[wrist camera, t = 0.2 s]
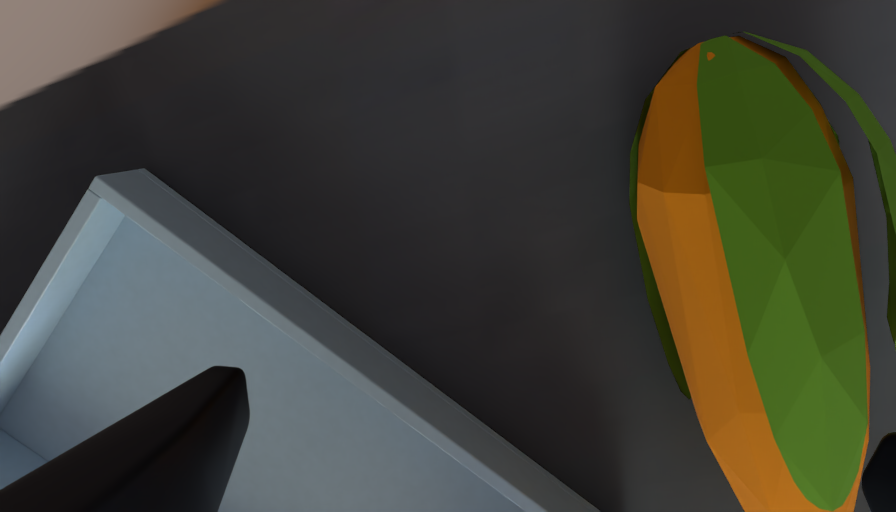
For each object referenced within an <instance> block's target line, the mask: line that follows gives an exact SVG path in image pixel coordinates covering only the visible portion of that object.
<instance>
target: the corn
mask: <svg viewBox="0 0 896 512" xmlns="http://www.w3.org/2000/svg"><path fill="white" fill-rule="evenodd" d="M738 33H739V32H738ZM745 33H747V32H745ZM732 34H733V33H732ZM747 34H749V35H752V36H754V37H756V38H759V39H761V40H763V41H766V42H768V43H770V44H773V45H775V46H777V47H780V48H782V49H784V50H787V51H789V52H791V53H794V54H796V55H798V56H800V57H801V58H802V59H803V60H804V61H805V62H806V63H807V64H808V65H809V66H810V67H811V68H812V69H813V70H814V71H815V72H816V73H817V74H818V75H819V76H820V77H821V78H822V79H823V80H824V81H825V82H826V83H827V84H828V85H829V86H830V87H831V88H832V89H833V90H834V91H835V92H836V93H837V94H838V95H839V96H840V97H841V98H842V99H843V100H844V101H845V102H846V103H847V105H848V106H849V108H850V110H851V111H852V113H853V115H854V116H855V118H856V120H857V121H858V123H859V125H860V126H861V128H862V129H863V131H864V133H865V134H866V136H867V138H868V140H869V144H870V149H871V153H872V157H873V162H874V166H875V170H876V174H877V179H878V183H879V187H880V191H881V196H882V200H883V204H884V209H885V213H886V217H887V238H888V262H889V295H888V309H887V319H888V323H889V327H890V331H891V335H892V338H893V341H894V343H895V350H896V154H895V152H894V149H893V146H892V143H891V140H890V139H889V137H888V136H887V134H886V133H885V131H884V130H883V128H882V127H881V126H880V124H879V123H878V121H877V120H876V118H875V117H874V115H873V114H872V112H871V111H870V110H869V108H868V107H867V105H866V104H865V102H864V101H863V99H862V98H861V96H860V95H859V94H858V93H857V92H856V91H855V90H853V89H852V88H851V87H850V86H849V85H848V84H846V83H845V82H844V81H843V80H842V79H840V78H839V77H838V76H837V75H836V74H834V73H833V72H832V71H831V70H830V69H829V68H827V67H826V66H825V65H824V64H823V63H821V62H820V61H819V60H818V59H817V58H815V57H814V56H813V55H812V54H811V53H810V52H808V51H807V50H804V49H801V48H798V47H794V46H791V45H787V44H784V43H781V42H777V41H774V40H771V39H767V38H764V37H761V36H757V35H754V34H750V33H747ZM629 205H630V210H631V215H632V220H633V225H634V231H635V236H636V241H637V246H638V251H639V257H640V262H641V267H642V272H643V277H644V282H645V288H646V293H647V298H648V302H649V305H650V308H651V311H652V314H653V317H654V320H655V324H656V327H657V330H658V333H659V336H660V339H661V342H662V345H663V349H664V352H665V355H666V358H667V361H668V364H669V366H670V368H671V371H672V373H673V375H674V377H675V379H676V382H677V384H678V386H679V388H680V391H681V392H682V393H683V394H684V395H685V396H686V397H687V398H688V399H690V398H692V401H693V404H694V407H695V410H696V414H697V417H698V420H699V422H700V425H701V428H702V430H703V433H704V435H705V438H706V441H707V443H708V444H709V446H710V448H711V450H712V452H713V454H714V456H715V457H716V459H717V461H718V463H719V465H720V467H721V469H722V470H723V472H724V474H725V476H726V478H727V480H728V481H729V483H730V485H731V487H732V489H733V491H734V493H735V494H736V496H737V498H738V500H739V502H740V504H741V506H742V507H743V509H744V511H745V512H854V507H855V503H856V498H857V493H858V488H859V484H860V479H861V474H862V469H863V465H864V460H865V455H866V451H867V446H868V441H869V402H870V361H869V350H868V339H867V327H866V316H865V305H864V294H863V283H862V272H861V261H860V250H859V239H858V228H857V217H856V206H855V195H854V184H853V177H852V174H851V172H850V170H849V167H848V165H847V163H846V161H845V158H844V156H843V154H842V151H841V149H840V146H839V139H838V135H837V134H836V132H835V131H834V129H833V128H832V126H831V125H830V123H829V121H828V119H827V117H826V115H825V113H824V110H823V108H822V106H821V104H820V103H819V101H818V100H817V99H816V97H815V96H814V95H813V93H812V92H811V90H810V89H809V88H808V86H807V85H806V84H805V82H804V81H803V79H802V78H801V77H800V75H799V74H798V73H797V71H796V70H795V69H794V67H793V66H792V64H791V63H790V62H789V60H788V59H787V58H786V57H785V56H782V55H780V54H778V53H776V52H774V51H771V50H769V49H767V48H765V47H763V46H760V45H758V44H756V43H754V42H752V41H749V40H747V39H745V38H743V37H741V36H735V37H728V36H721V37H717V38H713V39H709V40H707V41H705V42H701V43H698V44H697V45H695V46H693V47H691V48H689V49H686V50H684V51H682V52H680V54H679V55H678V56H677V58H676V59H675V60H674V62H673V63H672V64H671V66H670V67H669V68H668V70H667V71H666V72H665V74H664V75H663V76H662V78H661V79H660V80H659V82H658V83H657V84H656V86H655V87H654V89H653V90H652V91H651V93H650V94H649V95H648V97H647V98H646V99H645V102H644V106H643V109H642V113H641V116H640V120H639V124H638V127H637V131H636V134H635V138H634V141H633V145H632V149H631V152H630V200H629Z"/></svg>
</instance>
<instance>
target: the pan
mask: <svg viewBox="0 0 896 512" xmlns="http://www.w3.org/2000/svg"><path fill="white" fill-rule="evenodd" d="M212 366H228V367H238V368H240V369H242V370H243V371H244V373H245V377H246V384H247V392H248V400H249V408H250V420H249V425H248V429H247V432H246V434H245V437H244V440H243V443H242V446H241V448H240V451H239V454H238V457H237V459H236V462H235V465H234V468H233V471H232V473H231V476H230V479H229V482H228V484H227V487H226V490H225V493H224V496H223V498H222V501H221V504H220V507H219V510H218V512H601V511H600V510H598V509H597V508H596V507H594V506H593V505H592V504H590V503H589V502H588V501H586V500H585V499H584V498H582V497H581V496H580V495H578V494H577V493H576V492H574V491H573V490H572V489H570V488H569V487H568V486H566V485H565V484H564V483H562V482H561V481H560V480H558V479H557V478H556V477H554V476H553V475H552V474H550V473H549V472H548V471H546V470H545V469H544V468H542V467H541V466H540V465H538V464H537V463H536V462H534V461H533V460H532V459H530V458H529V457H528V456H526V455H525V454H524V453H522V452H521V451H520V450H518V449H517V448H516V447H514V446H513V445H512V444H510V443H509V442H508V441H506V440H505V439H504V438H502V437H501V436H500V435H499V434H497V433H496V432H495V431H493V430H492V429H491V428H489V427H488V426H487V425H485V424H484V423H483V422H481V421H480V420H479V419H477V418H476V417H475V416H473V415H472V414H471V413H469V412H468V411H467V410H465V409H464V408H463V407H461V406H460V405H459V404H457V403H456V402H455V401H453V400H452V399H451V398H449V397H448V396H447V395H445V394H444V393H443V392H441V391H440V390H439V389H437V388H436V387H435V386H433V385H432V384H431V383H429V382H428V381H427V380H425V379H424V378H423V377H421V376H420V375H419V374H417V373H416V372H415V371H413V370H412V369H411V368H409V367H408V366H407V365H405V364H404V363H403V362H401V361H400V360H399V359H397V358H396V357H395V356H393V355H392V354H391V353H389V352H388V351H387V350H386V349H384V348H383V347H382V346H380V345H379V344H378V343H376V342H375V341H374V340H372V339H371V338H370V337H368V336H367V335H366V334H364V333H363V332H362V331H360V330H359V329H358V328H356V327H355V326H354V325H352V324H351V323H350V322H348V321H347V320H346V319H344V318H343V317H342V316H340V315H339V314H338V313H336V312H335V311H334V310H332V309H331V308H330V307H328V306H327V305H326V304H324V303H323V302H322V301H320V300H319V299H318V298H316V297H315V296H314V295H312V294H311V293H310V292H308V291H307V290H306V289H304V288H303V287H302V286H300V285H299V284H298V283H296V282H295V281H294V280H292V279H291V278H290V277H288V276H287V275H286V274H284V273H283V272H282V271H280V270H279V269H278V268H276V267H275V266H274V265H273V264H271V263H270V262H269V261H267V260H266V259H265V258H263V257H262V256H261V255H259V254H258V253H257V252H255V251H254V250H253V249H251V248H250V247H249V246H247V245H246V244H245V243H243V242H242V241H241V240H239V239H238V238H237V237H235V236H234V235H233V234H231V233H230V232H229V231H227V230H226V229H225V228H223V227H222V226H221V225H219V224H218V223H217V222H215V221H214V220H213V219H211V218H210V217H209V216H207V215H206V214H205V213H203V212H202V211H201V210H199V209H198V208H197V207H195V206H194V205H193V204H191V203H190V202H189V201H187V200H186V199H185V198H183V197H182V196H181V195H179V194H178V193H177V192H175V191H174V190H173V189H171V188H170V187H169V186H167V185H166V184H165V183H163V182H162V181H161V180H160V179H158V178H157V177H156V176H154V175H153V174H152V173H150V172H149V171H148V170H146V169H145V168H142V169H138V170H131V171H124V172H118V173H112V174H105V175H99V176H96V177H95V178H94V180H93V181H92V183H91V185H90V186H89V189H88V190H87V191H86V193H85V194H84V196H83V198H82V199H81V201H80V203H79V204H78V206H77V208H76V210H75V211H74V213H73V215H72V216H71V218H70V220H69V221H68V223H67V225H66V226H65V228H64V230H63V231H62V233H61V235H60V236H59V238H58V240H57V241H56V243H55V245H54V246H53V248H52V250H51V251H50V253H49V255H48V256H47V258H46V260H45V261H44V263H43V265H42V266H41V268H40V270H39V271H38V273H37V275H36V276H35V278H34V280H33V281H32V283H31V285H30V286H29V288H28V290H27V292H26V293H25V295H24V297H23V298H22V300H21V302H20V303H19V305H18V307H17V308H16V310H15V312H14V313H13V315H12V317H11V318H10V320H9V322H8V323H7V325H6V327H5V328H4V330H3V332H2V333H1V335H0V490H1V489H2V488H4V487H6V486H7V485H9V484H11V483H13V482H14V481H16V480H18V479H19V478H21V477H23V476H25V475H26V474H28V473H30V472H31V471H33V470H35V469H37V468H38V467H40V466H42V465H43V464H45V463H47V462H49V461H50V460H52V459H54V458H55V457H57V456H59V455H61V454H62V453H64V452H66V451H68V450H69V449H71V448H73V447H74V446H76V445H78V444H80V443H81V442H83V441H85V440H86V439H88V438H90V437H92V436H93V435H95V434H97V433H98V432H100V431H102V430H104V429H105V428H107V427H109V426H110V425H112V424H114V423H116V422H117V421H119V420H121V419H122V418H124V417H126V416H128V415H129V414H131V413H133V412H134V411H136V410H138V409H140V408H141V407H143V406H145V405H146V404H148V403H150V402H152V401H153V400H155V399H157V398H158V397H160V396H162V395H164V394H165V393H167V392H169V391H170V390H172V389H174V388H176V387H177V386H179V385H181V384H182V383H184V382H186V381H188V380H189V379H191V378H193V377H195V376H196V375H198V374H200V373H201V372H203V371H205V370H207V369H208V368H210V367H212Z"/></svg>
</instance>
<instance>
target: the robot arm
mask: <svg viewBox="0 0 896 512" xmlns="http://www.w3.org/2000/svg"><path fill="white" fill-rule="evenodd" d="M249 420H250V408H249V400H248V392H247V384H246V377H245V373H244V371H243V370H242V369H240V368H238V367H228V366H212V367H210V368H208V369H207V370H205V371H203V372H201V373H200V374H198V375H196V376H195V377H193V378H191V379H189V380H188V381H186V382H184V383H182V384H181V385H179V386H177V387H176V388H174V389H172V390H170V391H169V392H167V393H165V394H164V395H162V396H160V397H158V398H157V399H155V400H153V401H152V402H150V403H148V404H146V405H145V406H143V407H141V408H140V409H138V410H136V411H134V412H133V413H131V414H129V415H128V416H126V417H124V418H122V419H121V420H119V421H117V422H116V423H114V424H112V425H110V426H109V427H107V428H105V429H104V430H102V431H100V432H98V433H97V434H95V435H93V436H92V437H90V438H88V439H86V440H85V441H83V442H81V443H80V444H78V445H76V446H74V447H73V448H71V449H69V450H68V451H66V452H64V453H62V454H61V455H59V456H57V457H55V458H54V459H52V460H50V461H49V462H47V463H45V464H43V465H42V466H40V467H38V468H37V469H35V470H33V471H31V472H30V473H28V474H26V475H25V476H23V477H21V478H19V479H18V480H16V481H14V482H13V483H11V484H9V485H7V486H6V487H4V488H2V489H1V490H0V512H218V510H219V507H220V504H221V501H222V498H223V496H224V493H225V490H226V487H227V484H228V482H229V479H230V476H231V473H232V471H233V468H234V465H235V462H236V459H237V457H238V454H239V451H240V448H241V446H242V443H243V440H244V437H245V434H246V432H247V429H248V425H249ZM862 488H863V492H864V495H865V498H866V500H867V503H868V505H869V507H870V510H871V512H896V432H892V433H888V434H887V435H885V436H884V437H883V438H882V439H881V441H880V443H879V445H878V446H877V448H876V450H875V452H874V454H873V456H872V457H871V459H870V461H869V463H868V465H867V466H866V468H865V470H864V472H863V475H862Z"/></svg>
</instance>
